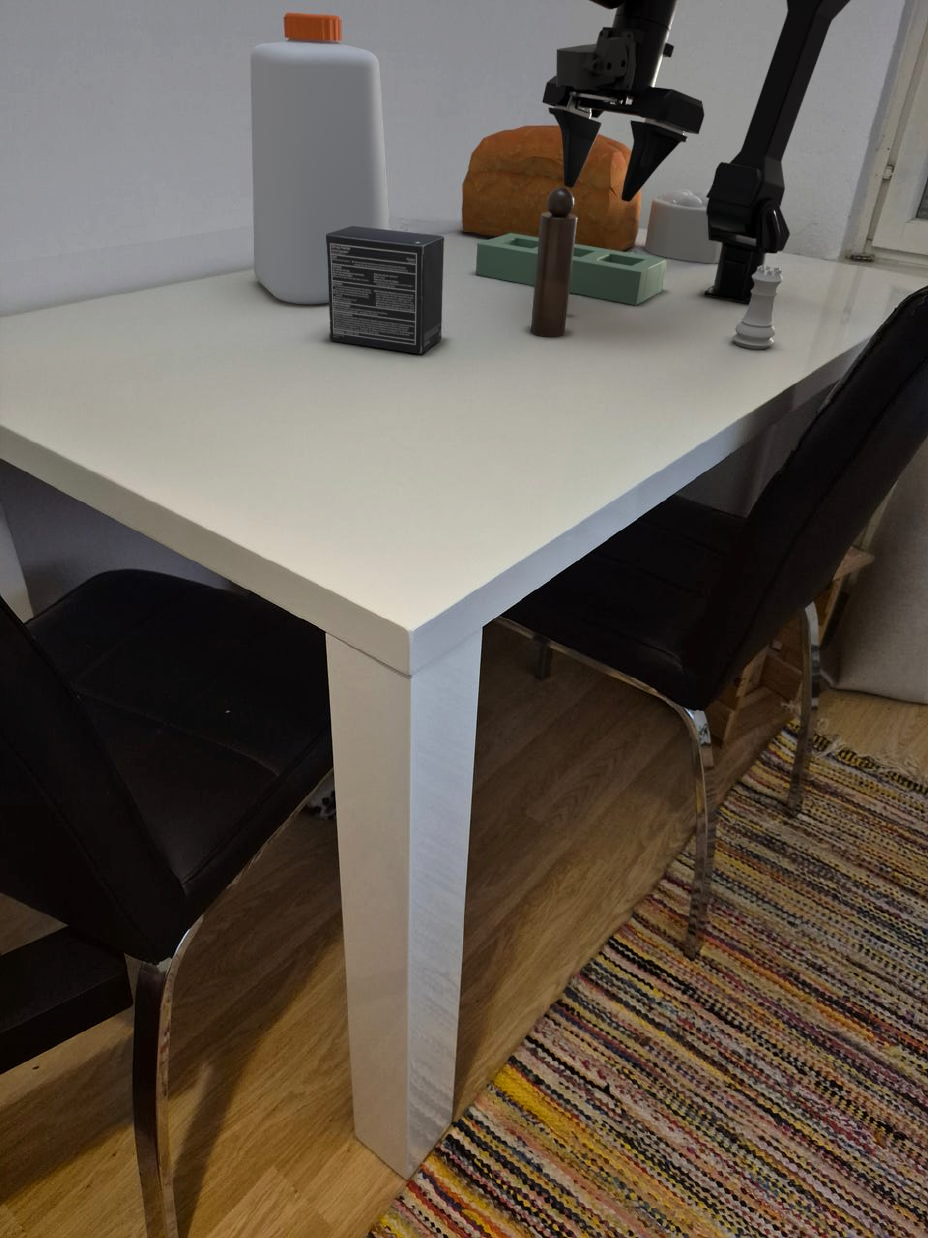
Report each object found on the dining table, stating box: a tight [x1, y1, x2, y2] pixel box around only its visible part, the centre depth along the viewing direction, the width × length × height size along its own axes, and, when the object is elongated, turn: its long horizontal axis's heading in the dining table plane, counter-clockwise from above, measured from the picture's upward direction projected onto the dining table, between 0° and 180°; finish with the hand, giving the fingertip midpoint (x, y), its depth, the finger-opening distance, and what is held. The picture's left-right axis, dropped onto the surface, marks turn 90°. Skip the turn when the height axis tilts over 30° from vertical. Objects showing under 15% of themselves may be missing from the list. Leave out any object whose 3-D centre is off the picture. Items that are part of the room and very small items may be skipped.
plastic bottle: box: [250, 12, 391, 305], centre depth 100 cm, size 15×15×28 cm
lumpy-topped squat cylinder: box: [644, 187, 722, 264], centre depth 133 cm, size 10×13×9 cm
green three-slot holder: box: [475, 233, 668, 306], centre depth 115 cm, size 9×23×4 cm, turn 59°
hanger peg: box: [530, 188, 577, 338], centre depth 93 cm, size 4×4×15 cm
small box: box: [326, 226, 445, 355], centre depth 89 cm, size 11×6×10 cm, turn 71°
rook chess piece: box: [732, 265, 784, 350], centre depth 95 cm, size 4×4×8 cm
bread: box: [461, 124, 642, 252], centre depth 135 cm, size 16×27×16 cm, turn 62°
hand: (595, 193), depth 94 cm, fingers open, 9 cm apart
